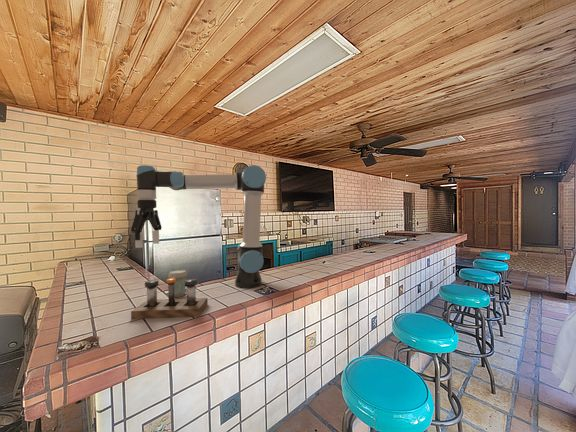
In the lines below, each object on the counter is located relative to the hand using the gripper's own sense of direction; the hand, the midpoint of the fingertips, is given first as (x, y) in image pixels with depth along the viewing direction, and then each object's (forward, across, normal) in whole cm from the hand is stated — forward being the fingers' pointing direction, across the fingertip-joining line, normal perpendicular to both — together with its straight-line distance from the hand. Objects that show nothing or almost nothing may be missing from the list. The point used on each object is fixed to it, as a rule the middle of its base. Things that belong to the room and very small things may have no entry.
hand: (148, 245), depth 110 cm
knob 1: (+23, +12, +8) cm, 27 cm away
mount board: (+26, +11, +16) cm, 33 cm away
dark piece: (+23, +11, +16) cm, 30 cm away
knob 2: (+23, +11, +24) cm, 35 cm away
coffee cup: (+26, -8, +10) cm, 29 cm away
